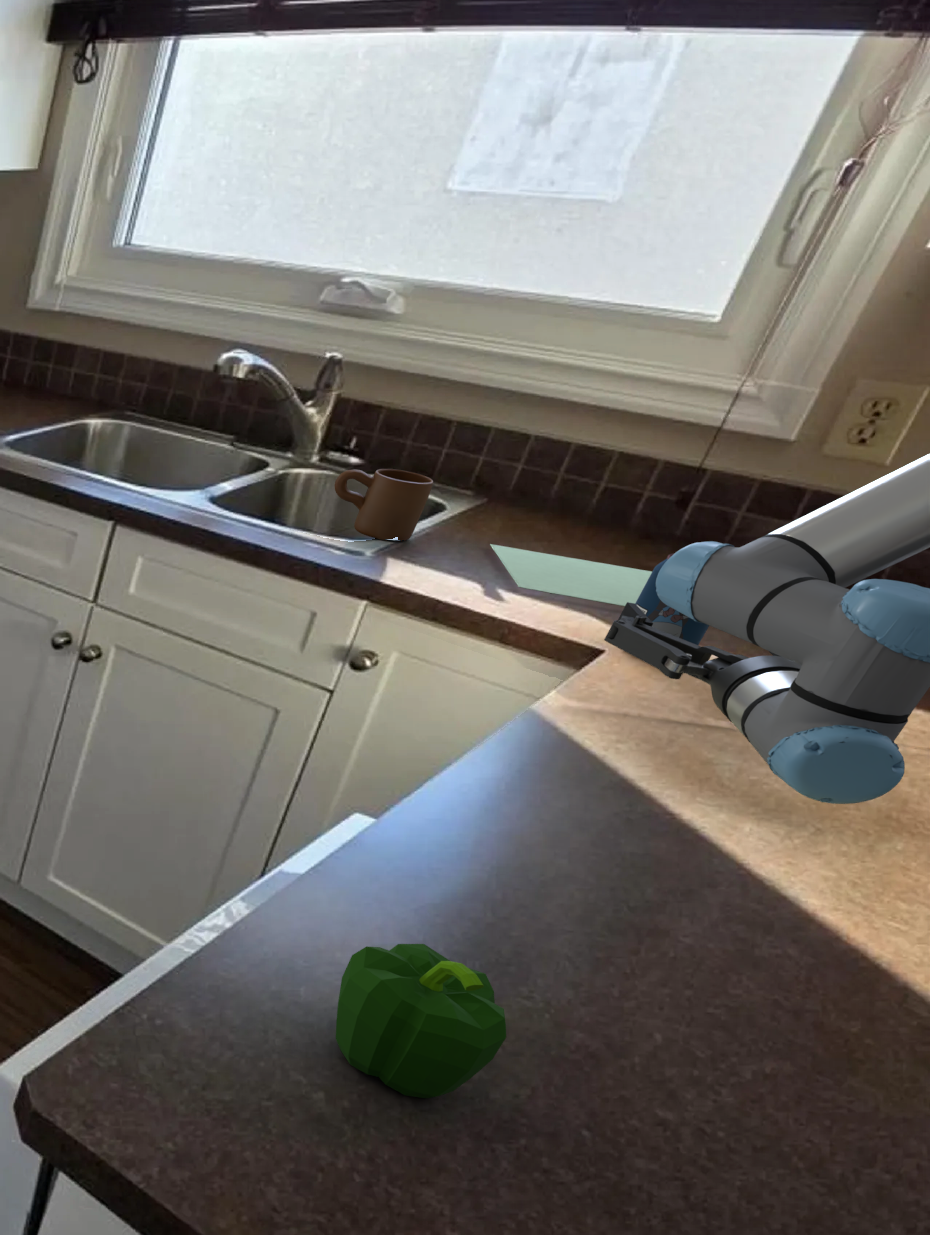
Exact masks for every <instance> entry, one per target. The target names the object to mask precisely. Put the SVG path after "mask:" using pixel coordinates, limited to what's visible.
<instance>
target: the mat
mask: <svg viewBox="0 0 930 1235" xmlns="http://www.w3.org/2000/svg"><path fill="white" fill-rule="evenodd" d="M489 546H490V547H491V548H492V550H493V551H494V553H495V555H496V556H497V558H498V559H499V560H500V562H501V563H502V565H503V567H504V568H505V570H506V571H507V572H508V574H509V575H510V577H511V579H513V581H514V583H515V584H516V585H517V587H518V588H521V589H525V590H526V589H527V590H531V591H536V592H543V593H549V595H550V594H551V595H560V596H565V597H569V598H574V599H575V598H576V599H580V600H587V601H593V602H597V603H603V604H609V605H614V606H620V607H625V605H626V603H627V602H629V603H636V601H637V599H638V597H639V596H640V594H641V592H642V590H643V588H644V586H645V584H646V582H647V581H648V579H649V577H650V575H651V573H652V571H651V570H644V569H638V568H632V567H627V566H622V565H615V564H609V563H605V562H604V563H603V562H598V561H591V560H587V559H586V560H585V559H580V558H574V557H569V556H564V555H563V556H562V555H556V554H551V553H544V552H539V551H532V550H527V549H521V548H516V547H509V546H505V545H504V546H503V545H498V544H491V543H490V544H489Z"/></svg>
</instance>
